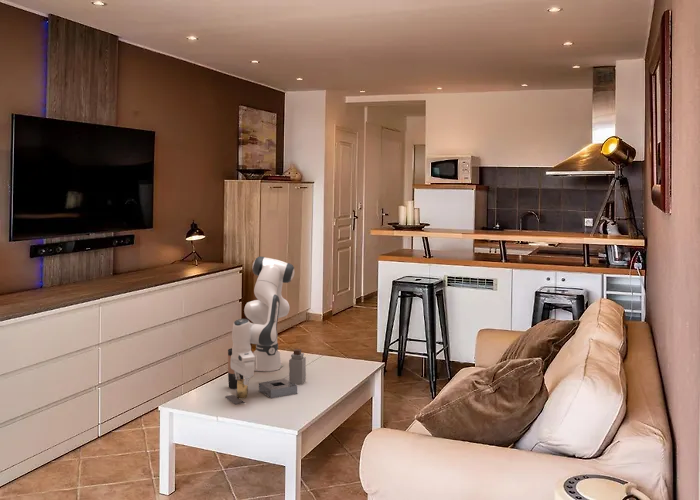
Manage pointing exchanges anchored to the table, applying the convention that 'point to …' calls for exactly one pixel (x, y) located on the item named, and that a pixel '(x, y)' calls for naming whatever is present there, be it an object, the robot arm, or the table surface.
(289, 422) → the table surface
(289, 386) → the housing
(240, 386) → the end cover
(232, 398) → the mat
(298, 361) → the grey square bottle
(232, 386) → the travel mug
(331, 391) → the table surface
